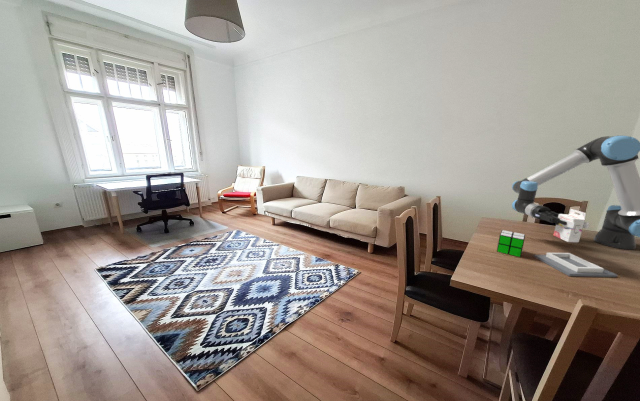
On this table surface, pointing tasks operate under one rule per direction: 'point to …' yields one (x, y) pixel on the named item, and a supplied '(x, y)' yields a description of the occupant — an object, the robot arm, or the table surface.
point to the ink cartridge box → (567, 232)
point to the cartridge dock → (574, 265)
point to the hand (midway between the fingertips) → (581, 225)
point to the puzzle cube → (511, 243)
